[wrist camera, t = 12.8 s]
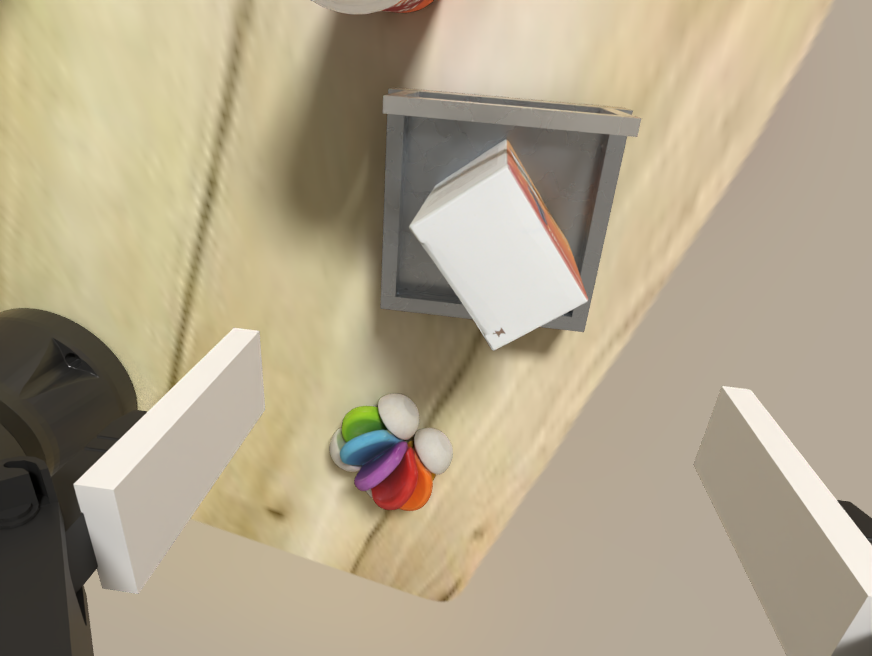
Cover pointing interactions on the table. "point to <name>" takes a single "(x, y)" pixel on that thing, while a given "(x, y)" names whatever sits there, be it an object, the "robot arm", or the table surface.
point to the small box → (499, 247)
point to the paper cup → (373, 5)
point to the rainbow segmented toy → (391, 452)
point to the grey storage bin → (471, 137)
